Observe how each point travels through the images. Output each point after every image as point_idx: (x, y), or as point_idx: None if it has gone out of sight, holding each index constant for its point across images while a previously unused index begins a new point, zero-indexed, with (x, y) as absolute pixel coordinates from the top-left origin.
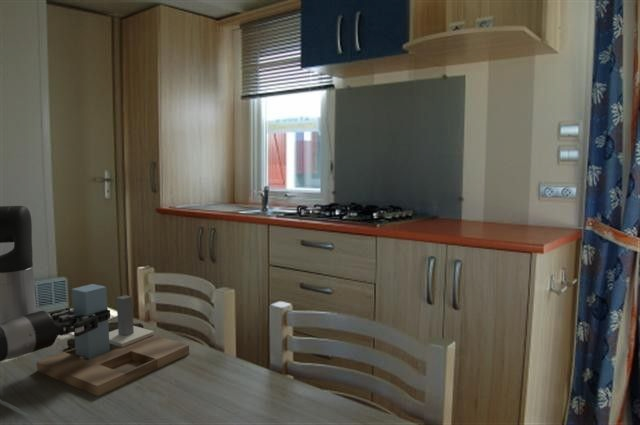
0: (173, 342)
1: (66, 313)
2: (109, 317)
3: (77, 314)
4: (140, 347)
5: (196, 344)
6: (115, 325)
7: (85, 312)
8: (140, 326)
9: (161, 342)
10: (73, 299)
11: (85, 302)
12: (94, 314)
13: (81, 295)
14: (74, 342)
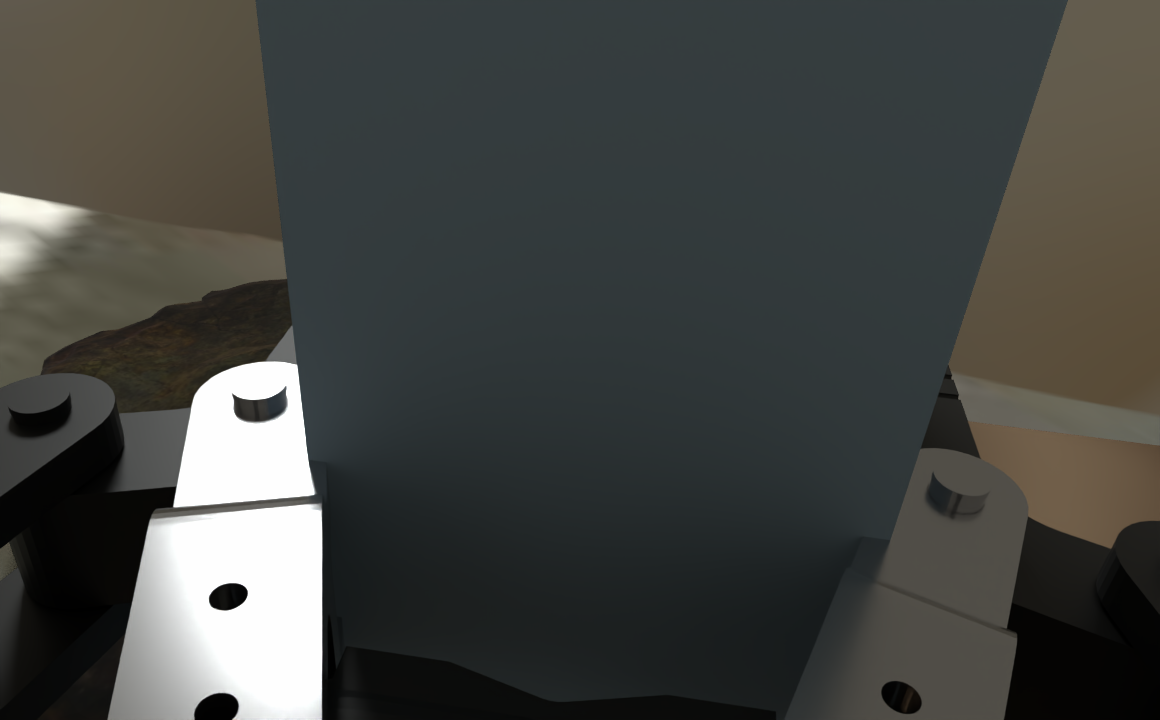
0: (1108, 456)
1: (320, 641)
2: None
3: (882, 663)
4: None
5: (1040, 398)
6: (267, 339)
7: (856, 492)
8: None
9: (1027, 479)
10: (336, 175)
11: (967, 246)
12: (1008, 481)
13: (799, 23)
14: (89, 712)
